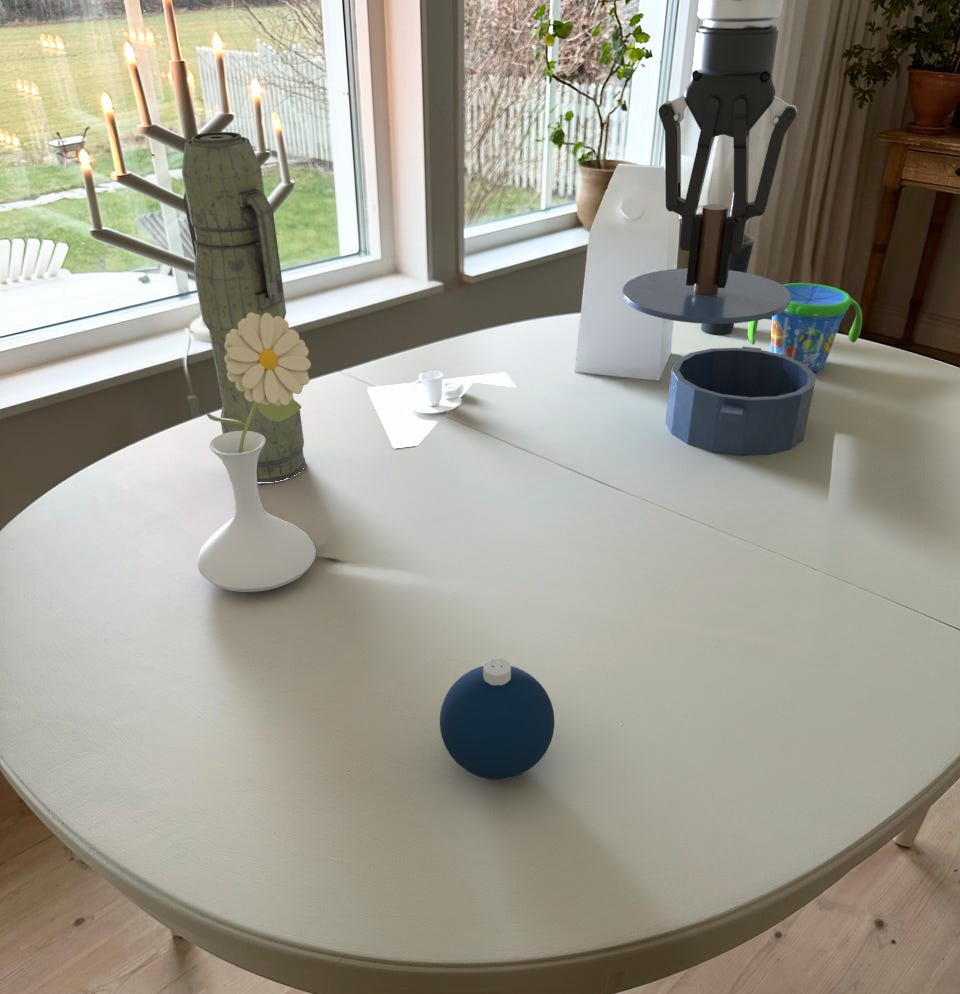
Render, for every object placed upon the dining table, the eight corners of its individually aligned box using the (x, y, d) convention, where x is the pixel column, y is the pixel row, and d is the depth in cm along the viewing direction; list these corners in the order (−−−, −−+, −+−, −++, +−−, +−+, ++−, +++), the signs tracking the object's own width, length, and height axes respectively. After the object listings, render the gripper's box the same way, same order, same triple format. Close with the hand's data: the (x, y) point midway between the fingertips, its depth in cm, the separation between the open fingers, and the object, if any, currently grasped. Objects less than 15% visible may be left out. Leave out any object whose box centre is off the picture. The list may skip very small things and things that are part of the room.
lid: (793, 285, 108) (809, 192, 102) (783, 336, 95) (801, 233, 89) (637, 274, 113) (644, 184, 107) (606, 321, 99) (612, 222, 94)
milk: (671, 352, 142) (692, 159, 126) (658, 380, 133) (680, 177, 117) (591, 344, 145) (603, 155, 129) (574, 371, 136) (585, 172, 120)
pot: (808, 404, 126) (820, 348, 121) (797, 478, 109) (810, 416, 105) (681, 389, 130) (687, 335, 126) (651, 458, 113) (657, 398, 109)
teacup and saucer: (459, 389, 131) (458, 360, 128) (474, 412, 125) (473, 382, 122) (396, 396, 129) (394, 367, 127) (408, 419, 123) (406, 389, 121)
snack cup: (842, 352, 141) (858, 282, 135) (862, 379, 133) (880, 305, 126) (735, 352, 142) (746, 281, 136) (748, 378, 133) (761, 305, 127)
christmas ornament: (546, 724, 76) (550, 621, 70) (558, 801, 69) (564, 695, 63) (441, 727, 76) (436, 625, 70) (442, 805, 69) (437, 699, 63)
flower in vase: (210, 614, 88) (153, 349, 73) (192, 554, 97) (137, 306, 82) (347, 584, 92) (319, 326, 77) (318, 529, 101) (287, 287, 86)
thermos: (255, 442, 118) (203, 124, 97) (330, 463, 113) (293, 133, 92) (204, 470, 112) (137, 138, 91) (281, 494, 107) (229, 148, 86)
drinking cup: (715, 318, 154) (733, 183, 142) (751, 331, 149) (774, 192, 137) (681, 328, 150) (697, 190, 138) (718, 341, 145) (738, 200, 133)
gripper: (646, 26, 88) (627, 287, 102) (824, 27, 84) (779, 299, 98) (660, 20, 93) (640, 268, 107) (827, 20, 89) (784, 278, 103)
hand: (706, 282), depth 103 cm, fingers closed on lid, 3 cm apart
